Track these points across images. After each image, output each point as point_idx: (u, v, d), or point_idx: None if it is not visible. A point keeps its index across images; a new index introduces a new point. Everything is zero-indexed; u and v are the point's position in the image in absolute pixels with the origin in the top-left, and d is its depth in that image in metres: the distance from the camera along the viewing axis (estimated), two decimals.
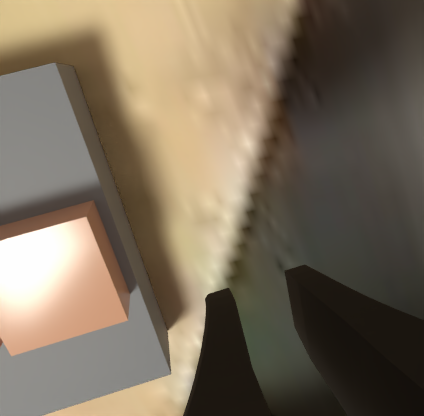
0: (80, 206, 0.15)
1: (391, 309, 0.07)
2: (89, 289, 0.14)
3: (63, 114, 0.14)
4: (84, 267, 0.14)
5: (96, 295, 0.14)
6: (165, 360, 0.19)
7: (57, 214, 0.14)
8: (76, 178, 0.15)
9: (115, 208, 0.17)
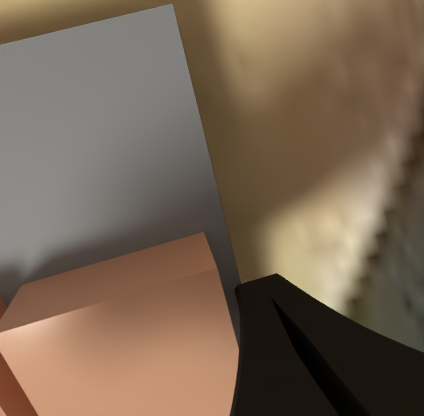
0: (187, 242, 0.09)
1: (351, 322, 0.07)
2: (206, 379, 0.09)
3: (177, 93, 0.08)
4: (203, 347, 0.08)
5: (216, 387, 0.09)
6: None
7: (154, 257, 0.09)
8: (187, 197, 0.09)
9: None
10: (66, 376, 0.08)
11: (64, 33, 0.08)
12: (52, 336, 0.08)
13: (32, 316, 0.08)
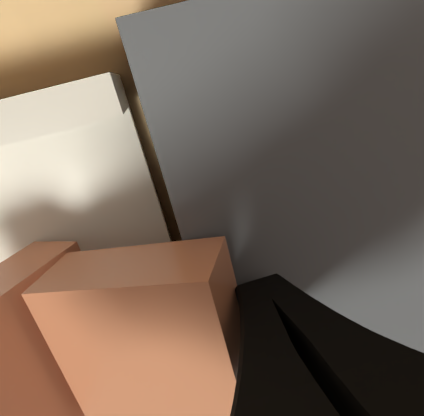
0: (203, 244, 0.09)
1: (350, 322, 0.07)
2: (198, 382, 0.09)
3: None
4: (195, 352, 0.08)
5: (208, 393, 0.09)
6: None
7: (167, 254, 0.09)
8: None
9: None
10: (77, 342, 0.09)
11: None
12: (64, 306, 0.09)
13: (53, 286, 0.09)
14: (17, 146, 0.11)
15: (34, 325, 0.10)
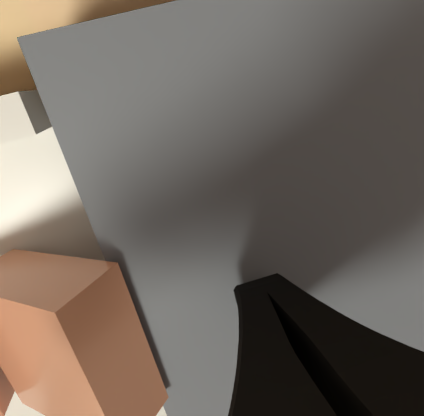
0: (94, 268, 0.09)
1: (352, 322, 0.07)
2: (75, 396, 0.09)
3: None
4: (66, 370, 0.09)
5: (85, 408, 0.09)
6: None
7: (63, 271, 0.09)
8: None
9: None
10: None
11: None
12: None
13: None
14: None
15: None
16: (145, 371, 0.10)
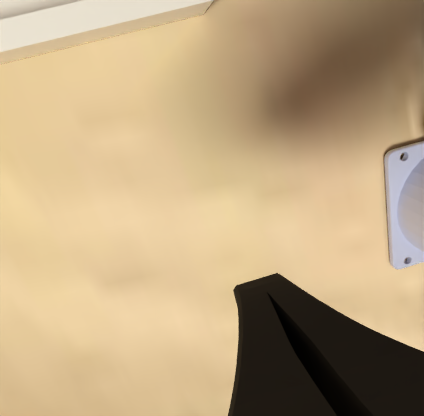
0: None
1: (352, 322, 0.07)
2: None
3: None
4: None
5: None
6: None
7: None
8: None
9: None
10: None
11: None
12: None
13: None
14: None
15: None
16: None
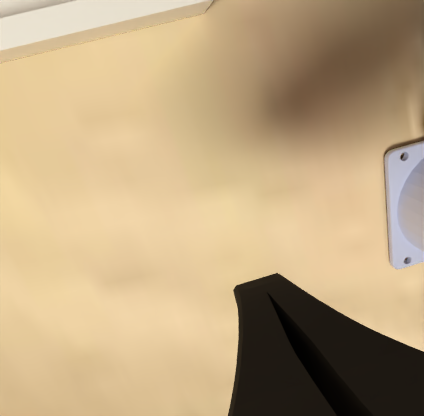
0: None
1: (352, 322, 0.07)
2: None
3: None
4: None
5: None
6: None
7: None
8: None
9: None
10: None
11: None
12: None
13: None
14: None
15: None
16: None
